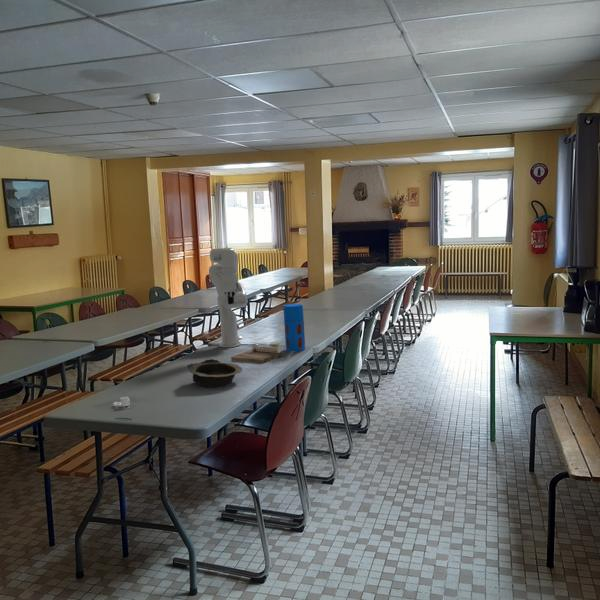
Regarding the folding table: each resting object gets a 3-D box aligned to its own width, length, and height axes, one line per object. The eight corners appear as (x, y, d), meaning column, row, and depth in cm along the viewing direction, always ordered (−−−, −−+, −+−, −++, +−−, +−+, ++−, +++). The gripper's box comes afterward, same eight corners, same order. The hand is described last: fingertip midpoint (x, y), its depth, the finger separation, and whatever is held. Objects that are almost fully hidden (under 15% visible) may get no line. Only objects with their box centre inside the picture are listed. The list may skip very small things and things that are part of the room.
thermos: (306, 347, 334) (303, 303, 331) (304, 351, 324) (301, 306, 321) (287, 347, 336) (284, 304, 332) (284, 351, 325) (282, 306, 322)
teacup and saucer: (110, 407, 240) (109, 398, 239) (128, 403, 245) (127, 393, 245) (120, 412, 234) (119, 402, 233) (138, 407, 239) (138, 397, 238)
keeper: (271, 350, 321) (271, 343, 320) (279, 351, 318) (279, 343, 318) (269, 351, 319) (269, 344, 318) (277, 351, 316) (277, 344, 316)
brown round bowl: (182, 380, 275) (182, 360, 274) (234, 376, 284) (234, 357, 283) (192, 392, 252) (192, 371, 251) (249, 388, 261) (249, 367, 260)
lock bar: (251, 351, 321) (251, 344, 320) (255, 349, 324) (255, 343, 323) (277, 353, 311) (277, 346, 311) (281, 352, 314) (281, 345, 314)
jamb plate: (253, 352, 327) (253, 349, 327) (283, 355, 317) (283, 351, 317) (231, 360, 310) (231, 357, 310) (263, 363, 300) (262, 359, 300)
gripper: (214, 271, 329) (216, 304, 331) (235, 271, 321) (237, 305, 324) (222, 270, 335) (224, 302, 338) (243, 270, 328) (245, 303, 330)
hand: (231, 303), depth 331 cm, fingers closed
